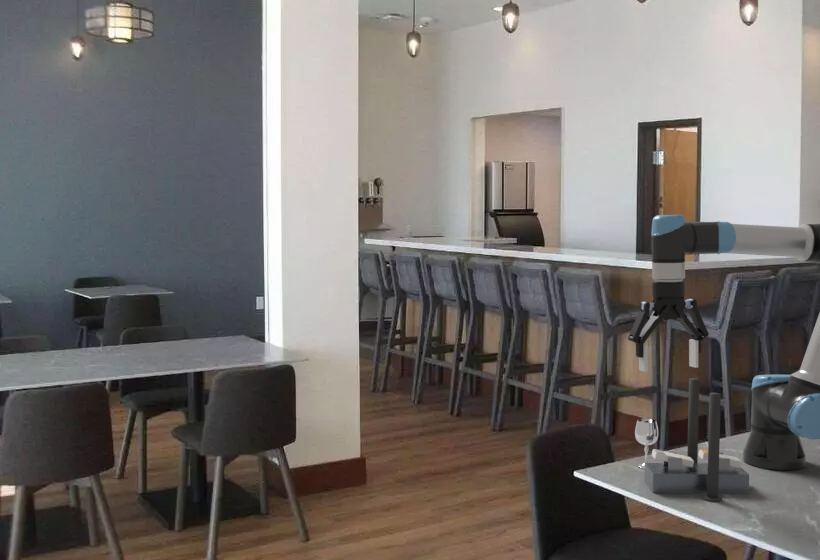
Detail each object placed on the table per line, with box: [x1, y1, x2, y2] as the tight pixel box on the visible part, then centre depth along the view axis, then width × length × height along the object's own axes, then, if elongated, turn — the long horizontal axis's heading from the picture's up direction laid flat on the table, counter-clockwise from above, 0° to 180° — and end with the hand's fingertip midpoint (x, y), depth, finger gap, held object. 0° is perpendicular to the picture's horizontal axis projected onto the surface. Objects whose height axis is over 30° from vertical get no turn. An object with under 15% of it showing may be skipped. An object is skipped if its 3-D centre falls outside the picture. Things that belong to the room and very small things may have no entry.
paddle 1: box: [651, 448, 694, 467], centre depth 215 cm, size 9×4×2 cm, turn 88°
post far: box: [686, 377, 700, 463], centre depth 223 cm, size 4×4×24 cm
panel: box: [644, 451, 750, 495], centre depth 215 cm, size 22×9×8 cm, turn 87°
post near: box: [702, 392, 723, 503], centre depth 205 cm, size 4×4×24 cm
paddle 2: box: [698, 449, 742, 468], centre depth 214 cm, size 9×4×2 cm, turn 88°
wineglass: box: [634, 418, 659, 470], centre depth 232 cm, size 6×6×12 cm
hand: (668, 369), depth 216 cm, fingers open, 13 cm apart
